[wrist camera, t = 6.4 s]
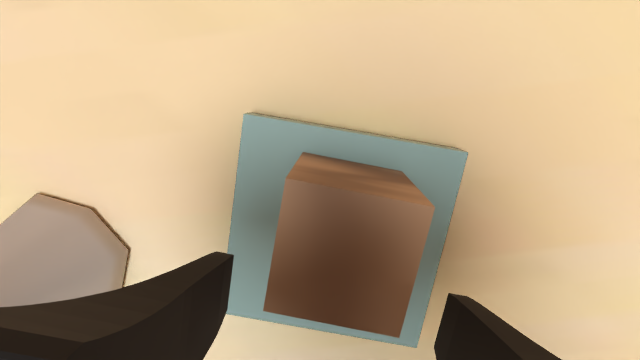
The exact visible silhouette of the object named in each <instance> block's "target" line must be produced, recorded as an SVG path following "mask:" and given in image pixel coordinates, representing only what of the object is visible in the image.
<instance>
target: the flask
mask: <svg viewBox="0 0 640 360" xmlns="http://www.w3.org/2000/svg"><path fill="white" fill-rule="evenodd" d="M127 256H128V249H127V248H126V247H125V246H124V245H123V244H122V243H121V242H120V241H119V239H118V238H117V237H116V236H115V235H114V234H113V233H112V232H111V231H110V230H109V228H108V227H107V226H106V225H105V224H104V223H103V222H102V221H101V220H100V218H99V217H98V216H97V215H96V214H95V213H94V212H93V211H92V210H91V209H90V208H87V207H83V206H80V205H76V204H73V203H69V202H66V201H62V200H59V199H55V198H52V197H48V196H45V195H41V194H38V193H37V194H35V195H34V196H33V197H32V198H31V199H29V200H28V201H27V202H26V203H25V204H23V205H22V206H21V207H20V208H19V209H18V210H16V211H15V212H14V213H13V214H12V215H11V216H9V217H8V218H7V219H6V220H5V221H4V222H3V223H1V224H0V307H11V306H23V305H32V304H41V303H49V302H56V301H62V300H69V299H75V298H80V297H84V296H89V295H94V294H99V293H103V292H108V291H112V290H116V289H120V288H122V284H123V279H124V273H125V267H126V262H127Z"/></svg>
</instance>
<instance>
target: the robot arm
mask: <svg viewBox="0 0 640 360" xmlns="http://www.w3.org/2000/svg"><path fill="white" fill-rule="evenodd" d="M233 260H234V255H232V254H227V253H221V252H214V253H211V254H208V255H206V256H204V257H201V258H199V259H197V260H195V261H193V262H190V263H188V264H186V265H183V266H181V267H179V268H177V269H174V270H172V271H169V272H167V273H164V274H161V275H159V276H156V277H154V278H151V279H149V280H146V281H143V282H140V283H137V284H134V285H130V286H127V287H123V288H120V289H116V290H112V291H108V292H103V293H99V294H94V295H89V296H84V297H80V298H75V299H69V300H62V301H56V302H49V303H41V304H32V305H23V306H11V307H0V360H203V359H204V357H205V355H206V353H207V352H208V350H209V348H210V346H211V345H212V343H213V341H214V339H215V338H216V336H217V334H218V331H219V329H220V326H221V324H222V322H223V319H224V317H225V314H226V312H227V309H228V301H229V292H230V284H231V276H232V268H233ZM434 349H435V354H436V359H437V360H561V359H560V358H558V357H556V356H555V355H553V354H552V353H550V352H549V351H547V350H546V349H544V348H543V347H541V346H540V345H538V344H536V343H535V342H533V341H532V340H531V339H529V338H528V337H526V336H525V335H523V334H522V333H520V332H519V331H518V330H516V329H515V328H513V327H512V326H510V325H509V324H508V323H506V322H505V321H503V320H502V319H501V318H499V317H498V316H496V315H495V314H494V313H492V312H491V311H489V310H488V309H487V308H485V307H484V306H482V305H481V304H479V303H478V302H476V301H475V300H473V299H471V298H469V297H467V296H462V295H456V294H451V293H449V294H448V297H447V301H446V305H445V308H444V312H443V316H442V319H441V323H440V327H439V330H438V334H437V338H436V341H435V345H434Z"/></svg>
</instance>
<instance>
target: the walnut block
mask: <svg viewBox="0 0 640 360" xmlns="http://www.w3.org/2000/svg"><path fill="white" fill-rule="evenodd" d="M434 210H435V206H434V205H433V204H432V203H431V202H430V201H429V200H428V199H427V198H426V197H425V196H424V195H423V193H422V192H421V191H420V190H419V189H418V188H417V187H416V186H415V185H414V184H413V183H412V181H411V180H410V179H409V178H408V177H407V176H406V175H405V174H404V173H403V172H402V171H399V170H394V169H388V168H383V167H378V166H373V165H368V164H363V163H358V162H352V161H347V160H342V159H337V158H332V157H327V156H322V155H316V154H311V153H306V152H303V153H302V154H301V156H300V157H299V159H298V160H297V162H296V163H295V165H294V166H293V168H292V169H291V171H290V172H289V174H288V175H287V177H286V179H285V185H284V190H283V196H282V202H281V208H280V214H279V220H278V226H277V231H276V237H275V243H274V249H273V255H272V261H271V267H270V272H269V278H268V284H267V290H266V296H265V302H264V308H263V311H265V312H270V313H275V314H280V315H285V316H290V317H295V318H300V319H305V320H310V321H315V322H321V323H326V324H331V325H336V326H341V327H346V328H351V329H356V330H361V331H366V332H371V333H376V334H381V335H387V336H392V337H397V338H399V337H400V334H401V330H402V326H403V323H404V319H405V316H406V312H407V308H408V305H409V301H410V297H411V294H412V290H413V286H414V283H415V279H416V275H417V272H418V268H419V265H420V261H421V257H422V254H423V250H424V246H425V243H426V239H427V235H428V232H429V228H430V224H431V221H432V217H433V214H434Z"/></svg>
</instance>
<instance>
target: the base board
mask: <svg viewBox="0 0 640 360" xmlns="http://www.w3.org/2000/svg"><path fill="white" fill-rule="evenodd" d="M303 152H306V153H311V154H316V155H322V156H327V157H332V158H337V159H342V160H347V161H352V162H358V163H363V164H368V165H373V166H378V167H383V168H388V169H394V170H399V171H402V172H403V173H404V174H405V175H406V176H407V177H408V178H409V179H410V180H411V181H412V183H413V184H414V185H415V186H416V187H417V188H418V189H419V190H420V191H421V192H422V193H423V195H424V196H425V197H426V198H427V199H428V200H429V201H430V202H431V203H432V204H433V205H434V206H435V210H434V214H433V217H432V221H431V224H430V228H429V232H428V235H427V239H426V243H425V246H424V250H423V254H422V257H421V261H420V265H419V268H418V272H417V275H416V279H415V283H414V286H413V290H412V294H411V297H410V301H409V305H408V308H407V312H406V316H405V319H404V323H403V326H402V330H401V334H400V337H399V338H397V337H392V336H387V335H381V334H376V333H371V332H366V331H361V330H356V329H351V328H346V327H341V326H336V325H331V324H326V323H321V322H315V321H310V320H305V319H300V318H295V317H290V316H285V315H280V314H275V313H270V312H265V311H263V308H264V302H265V296H266V290H267V284H268V278H269V272H270V267H271V261H272V255H273V249H274V243H275V237H276V231H277V226H278V220H279V214H280V208H281V202H282V196H283V190H284V185H285V179H286V177H287V175H288V174H289V172H290V171H291V169H292V168H293V166H294V165H295V163H296V162H297V160H298V159H299V157H300V156H301V154H302V153H303ZM467 156H468V152H465V151H463V150H460V149H458V148H453V147H447V146H442V145H436V144H430V143H424V142H418V141H413V140H407V139H401V138H395V137H390V136H384V135H378V134H372V133H366V132H361V131H355V130H349V129H343V128H338V127H332V126H326V125H320V124H315V123H309V122H303V121H297V120H291V119H286V118H280V117H274V116H268V115H263V114H257V113H245V114H244V116H243V124H242V133H241V141H240V150H239V158H238V167H237V175H236V184H235V193H234V201H233V210H232V218H231V227H230V235H229V244H228V252H227V254H232V255H234V260H233V268H232V276H231V284H230V292H229V301H228V309H227V312H226V314H230V315H235V316H241V317H246V318H252V319H258V320H263V321H269V322H274V323H280V324H286V325H291V326H297V327H302V328H308V329H314V330H319V331H325V332H330V333H336V334H341V335H347V336H353V337H358V338H364V339H369V340H375V341H381V342H386V343H392V344H397V345H403V346H409V347H414V348H417V344H418V341H419V337H420V333H421V329H422V326H423V322H424V318H425V314H426V310H427V307H428V303H429V299H430V295H431V292H432V288H433V284H434V280H435V276H436V273H437V269H438V265H439V261H440V258H441V254H442V250H443V246H444V243H445V239H446V235H447V231H448V227H449V224H450V220H451V216H452V212H453V209H454V205H455V201H456V197H457V194H458V190H459V186H460V182H461V178H462V175H463V171H464V167H465V163H466V160H467Z"/></svg>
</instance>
